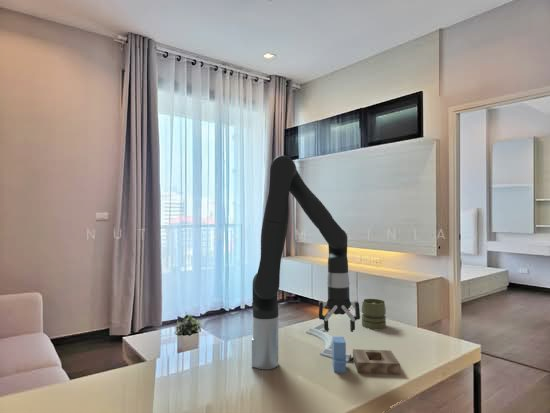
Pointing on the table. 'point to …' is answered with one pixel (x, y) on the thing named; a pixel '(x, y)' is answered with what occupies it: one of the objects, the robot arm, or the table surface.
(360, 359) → the tan square ring
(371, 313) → the piston
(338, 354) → the blue block
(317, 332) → the molding
